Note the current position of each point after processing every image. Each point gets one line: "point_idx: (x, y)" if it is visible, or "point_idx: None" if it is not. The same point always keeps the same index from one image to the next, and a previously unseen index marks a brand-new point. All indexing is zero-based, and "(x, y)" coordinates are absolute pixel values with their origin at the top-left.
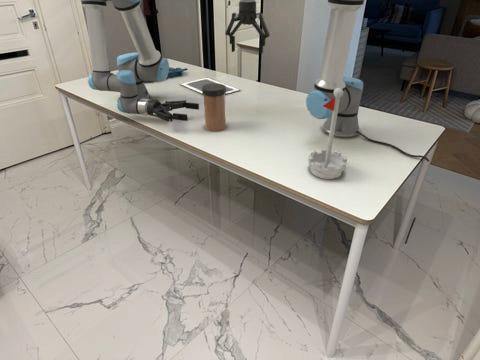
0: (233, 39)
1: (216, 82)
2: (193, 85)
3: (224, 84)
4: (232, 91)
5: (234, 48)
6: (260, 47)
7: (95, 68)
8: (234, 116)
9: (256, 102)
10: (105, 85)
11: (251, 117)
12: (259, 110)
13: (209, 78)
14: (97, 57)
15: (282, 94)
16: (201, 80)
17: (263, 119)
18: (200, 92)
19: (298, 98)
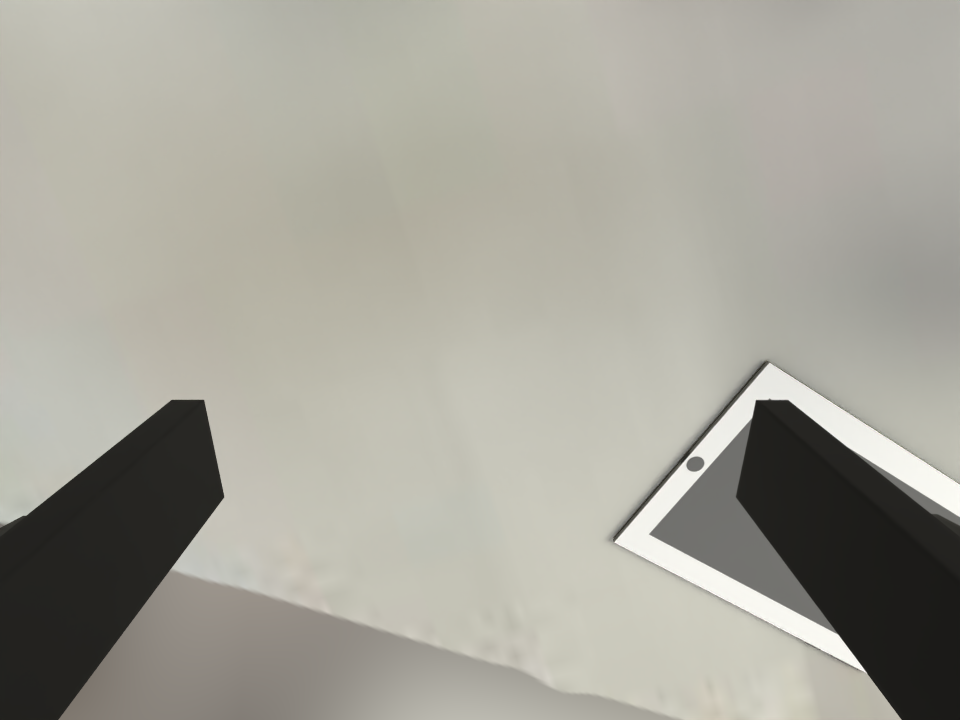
0: (930, 608)
1: (794, 617)
2: None
3: (734, 599)
4: (654, 504)
5: (765, 502)
6: (114, 467)
7: None
8: (520, 75)
9: (450, 382)
10: None
11: (395, 98)
12: (385, 249)
13: (853, 667)
14: None
15: (339, 550)
16: None
17: (301, 88)
18: (870, 431)
19: (225, 515)
